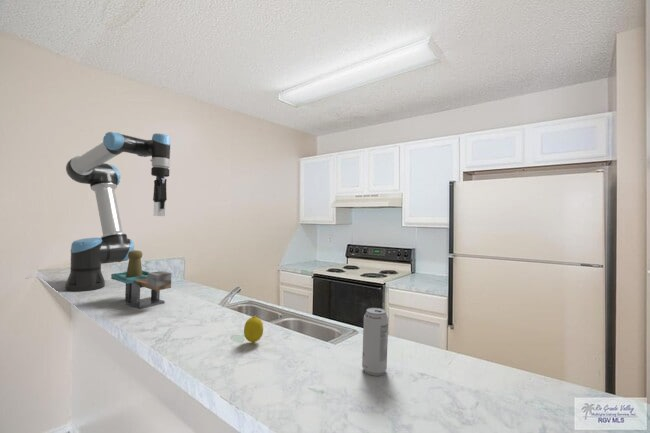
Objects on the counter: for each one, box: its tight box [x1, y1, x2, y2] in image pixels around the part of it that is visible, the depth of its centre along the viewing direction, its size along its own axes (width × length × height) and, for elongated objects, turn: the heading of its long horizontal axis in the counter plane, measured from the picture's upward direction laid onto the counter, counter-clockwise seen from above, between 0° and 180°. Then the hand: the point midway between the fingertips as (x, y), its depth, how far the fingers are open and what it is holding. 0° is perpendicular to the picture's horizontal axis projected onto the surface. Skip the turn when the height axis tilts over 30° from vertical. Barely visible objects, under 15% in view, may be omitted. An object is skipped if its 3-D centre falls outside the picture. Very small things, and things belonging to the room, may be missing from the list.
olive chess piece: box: [126, 249, 143, 278], centre depth 134 cm, size 6×6×11 cm
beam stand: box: [124, 283, 166, 310], centre depth 131 cm, size 10×16×9 cm, turn 59°
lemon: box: [243, 315, 264, 344], centre depth 94 cm, size 6×6×8 cm
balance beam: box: [110, 270, 172, 291], centre depth 130 cm, size 12×27×7 cm, turn 59°
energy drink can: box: [361, 307, 389, 377], centre depth 79 cm, size 6×6×15 cm
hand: (159, 215), depth 150 cm, fingers open, 9 cm apart
